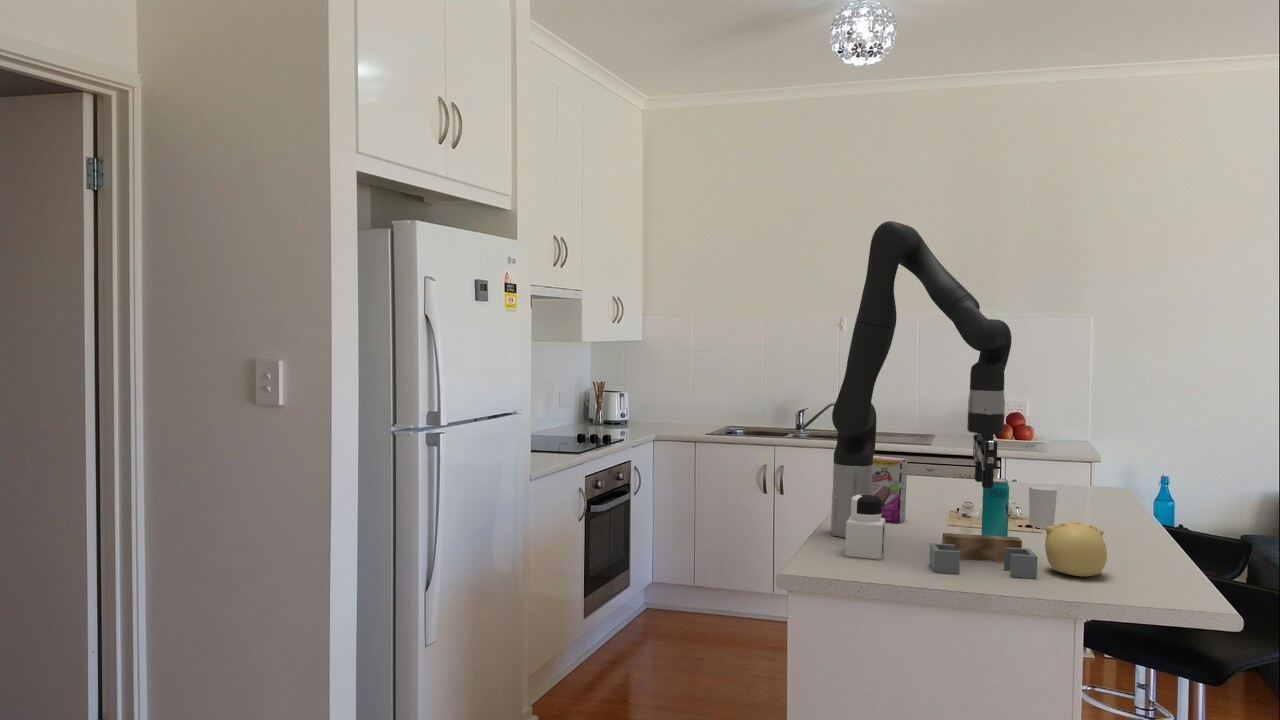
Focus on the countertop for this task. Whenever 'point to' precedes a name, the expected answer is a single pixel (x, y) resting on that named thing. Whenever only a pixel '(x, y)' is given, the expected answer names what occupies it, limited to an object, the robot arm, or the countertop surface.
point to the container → (865, 528)
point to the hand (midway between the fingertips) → (983, 484)
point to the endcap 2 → (1020, 562)
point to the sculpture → (1075, 548)
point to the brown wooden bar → (981, 545)
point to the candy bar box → (890, 486)
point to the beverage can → (995, 509)
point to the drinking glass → (1042, 506)
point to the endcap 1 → (944, 558)
